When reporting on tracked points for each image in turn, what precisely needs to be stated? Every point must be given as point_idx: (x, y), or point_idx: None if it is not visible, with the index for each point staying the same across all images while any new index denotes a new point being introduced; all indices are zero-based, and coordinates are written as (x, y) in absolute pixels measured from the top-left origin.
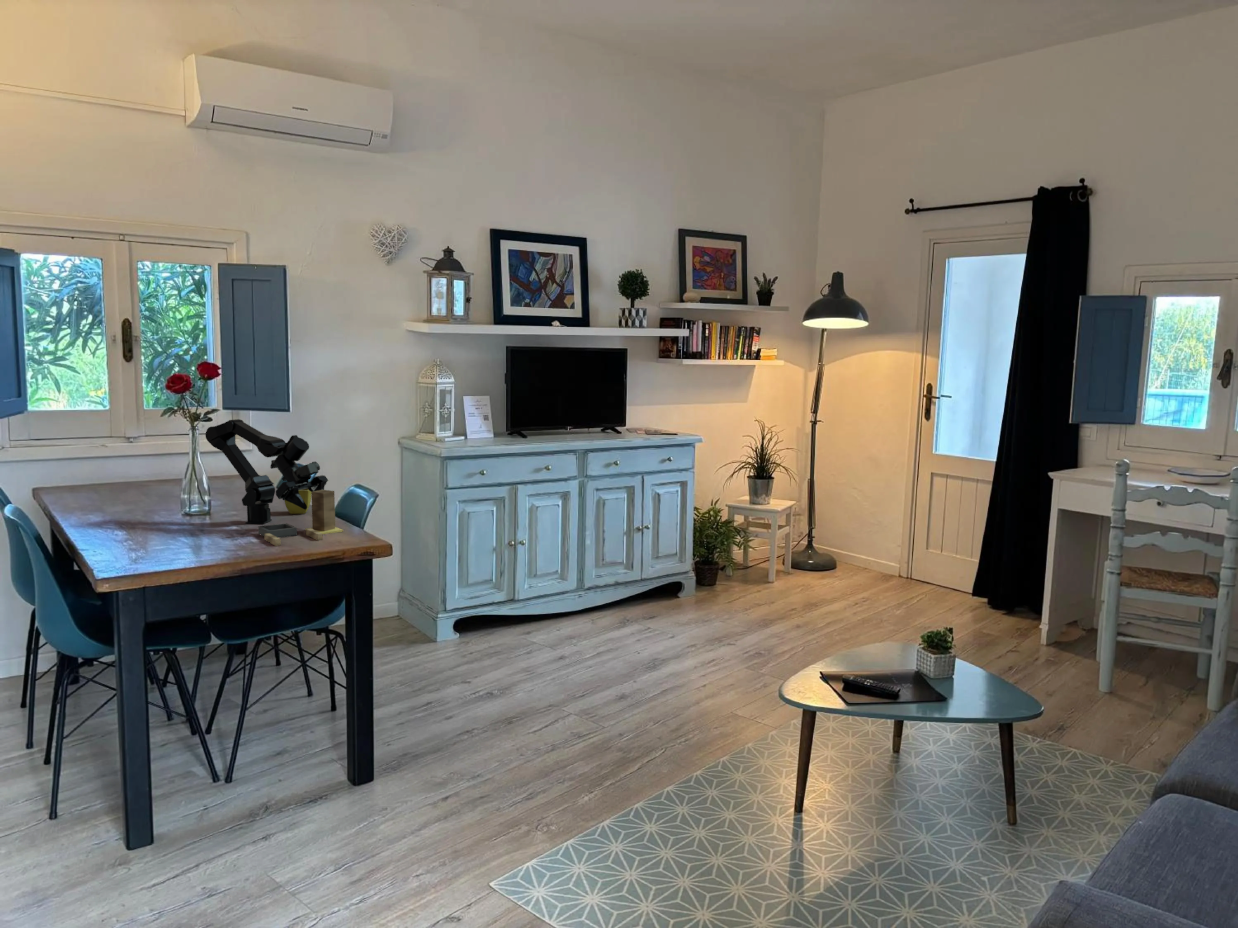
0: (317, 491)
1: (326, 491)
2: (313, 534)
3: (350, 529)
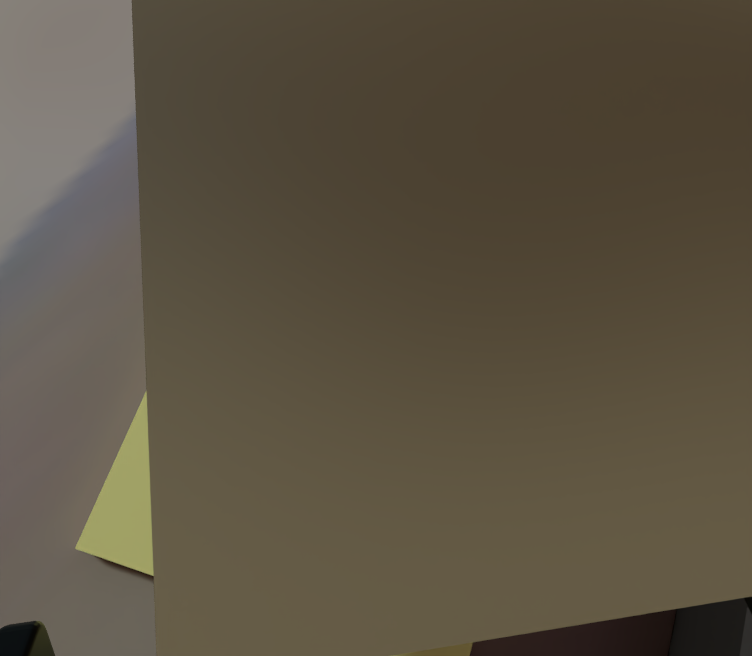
0: (731, 410)
1: (446, 60)
2: None
3: (76, 226)
